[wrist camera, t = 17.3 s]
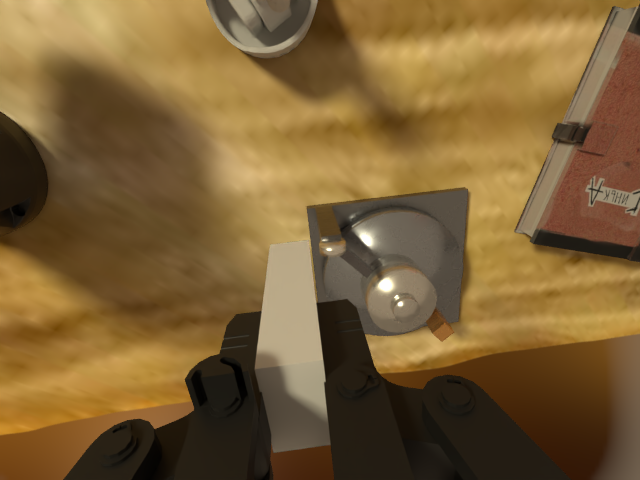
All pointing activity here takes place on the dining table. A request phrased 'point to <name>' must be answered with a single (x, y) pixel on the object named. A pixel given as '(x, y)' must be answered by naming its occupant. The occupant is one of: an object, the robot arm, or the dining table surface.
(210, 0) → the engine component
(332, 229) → the stand
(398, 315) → the cover
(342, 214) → the base plate
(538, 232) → the book
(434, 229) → the turntable
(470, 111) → the dining table surface
